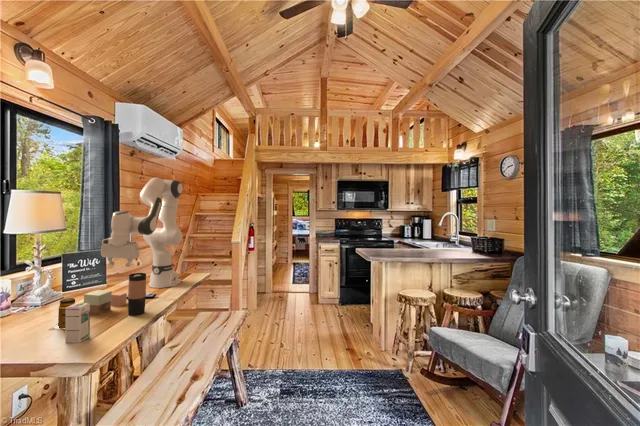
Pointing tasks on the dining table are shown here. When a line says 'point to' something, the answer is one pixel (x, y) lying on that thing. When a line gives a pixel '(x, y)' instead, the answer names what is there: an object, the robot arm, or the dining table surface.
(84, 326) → the syrup box
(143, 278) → the travel mug
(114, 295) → the block small
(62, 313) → the condiment
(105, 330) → the dining table surface
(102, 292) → the block top
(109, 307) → the block low
